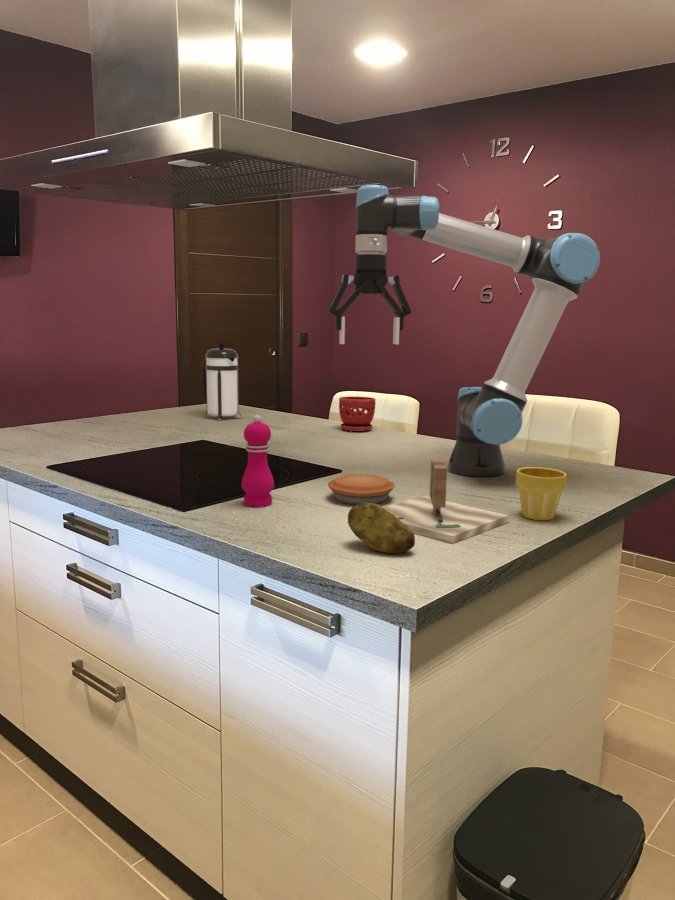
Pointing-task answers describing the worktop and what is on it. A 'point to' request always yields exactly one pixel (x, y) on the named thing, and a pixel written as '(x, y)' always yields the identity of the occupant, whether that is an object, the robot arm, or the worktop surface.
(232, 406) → the coffee press
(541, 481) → the plant pot
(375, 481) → the pie
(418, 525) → the plate
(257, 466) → the pepper mill
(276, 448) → the worktop surface
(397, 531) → the potato
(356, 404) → the plant pot
